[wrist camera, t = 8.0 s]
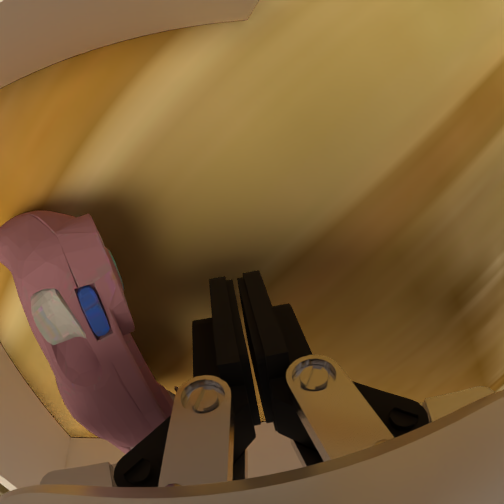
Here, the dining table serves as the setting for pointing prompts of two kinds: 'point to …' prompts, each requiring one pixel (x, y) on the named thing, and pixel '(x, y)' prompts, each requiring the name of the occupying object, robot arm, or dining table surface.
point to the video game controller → (84, 324)
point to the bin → (22, 64)
